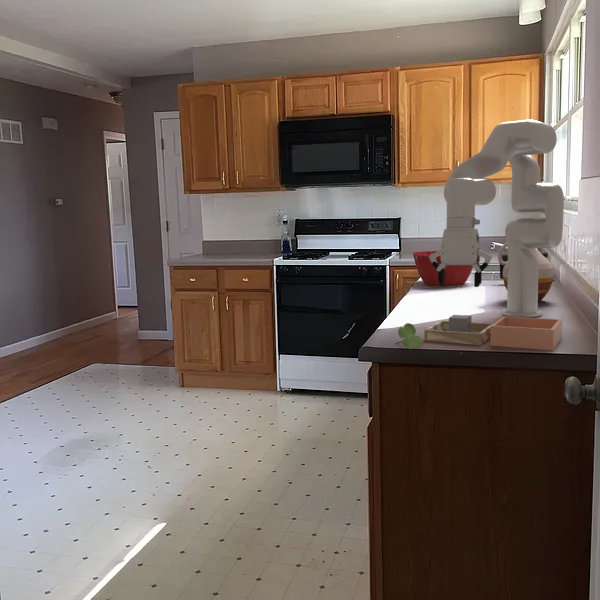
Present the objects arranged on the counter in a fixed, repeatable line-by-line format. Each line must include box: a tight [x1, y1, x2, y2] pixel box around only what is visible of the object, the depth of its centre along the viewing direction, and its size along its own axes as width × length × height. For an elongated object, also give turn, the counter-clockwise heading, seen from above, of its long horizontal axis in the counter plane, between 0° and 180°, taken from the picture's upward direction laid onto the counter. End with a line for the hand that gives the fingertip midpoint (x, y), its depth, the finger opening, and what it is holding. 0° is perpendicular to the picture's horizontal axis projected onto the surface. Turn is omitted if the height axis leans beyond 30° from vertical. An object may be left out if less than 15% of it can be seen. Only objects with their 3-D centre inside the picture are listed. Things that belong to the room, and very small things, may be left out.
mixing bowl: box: [411, 250, 474, 287], centre depth 291 cm, size 28×28×15 cm
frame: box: [424, 320, 494, 346], centre depth 184 cm, size 16×16×3 cm
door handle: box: [499, 251, 549, 280], centre depth 284 cm, size 3×20×16 cm, turn 76°
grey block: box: [448, 314, 472, 333], centre depth 184 cm, size 5×5×6 cm
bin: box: [489, 315, 563, 351], centre depth 175 cm, size 16×16×5 cm
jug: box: [497, 242, 555, 303], centre depth 239 cm, size 20×18×30 cm
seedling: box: [395, 323, 424, 350], centre depth 175 cm, size 7×8×7 cm
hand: (459, 285), depth 182 cm, fingers open, 9 cm apart
